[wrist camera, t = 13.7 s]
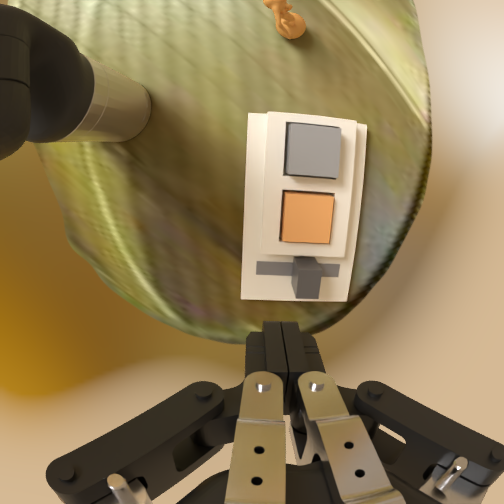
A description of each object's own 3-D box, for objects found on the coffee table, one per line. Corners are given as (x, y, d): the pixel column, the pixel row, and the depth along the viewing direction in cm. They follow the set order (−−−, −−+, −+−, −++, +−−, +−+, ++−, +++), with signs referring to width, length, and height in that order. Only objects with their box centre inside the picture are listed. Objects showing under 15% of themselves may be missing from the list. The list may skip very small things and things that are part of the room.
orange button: (280, 234, 42) (282, 241, 39) (283, 190, 40) (286, 193, 37) (323, 236, 42) (329, 243, 39) (327, 193, 41) (333, 197, 38)
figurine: (308, 55, 36) (327, 24, 25) (264, 58, 36) (269, 26, 25) (298, 6, 34) (312, -34, 22) (256, 9, 34) (257, -33, 22)
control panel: (241, 294, 47) (240, 307, 43) (248, 114, 39) (248, 110, 35) (343, 297, 47) (351, 309, 44) (363, 125, 39) (373, 123, 35)
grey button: (285, 172, 39) (288, 173, 35) (288, 125, 37) (291, 123, 34) (331, 175, 39) (338, 177, 36) (334, 130, 37) (341, 128, 34)
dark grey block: (291, 282, 45) (295, 298, 40) (293, 256, 43) (298, 269, 39) (311, 283, 45) (318, 299, 40) (314, 257, 43) (322, 270, 39)
